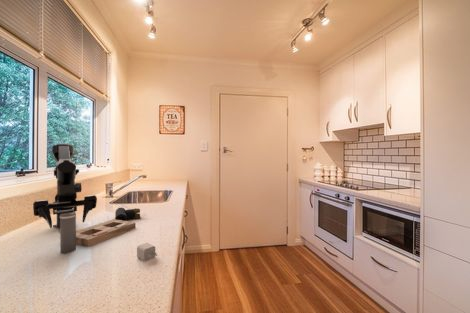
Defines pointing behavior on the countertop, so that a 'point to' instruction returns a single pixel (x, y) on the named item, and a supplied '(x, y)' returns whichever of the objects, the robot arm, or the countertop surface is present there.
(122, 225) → the socket plate
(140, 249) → the usb wall charger
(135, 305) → the countertop surface
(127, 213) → the pipe connector
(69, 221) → the grey cylinder
